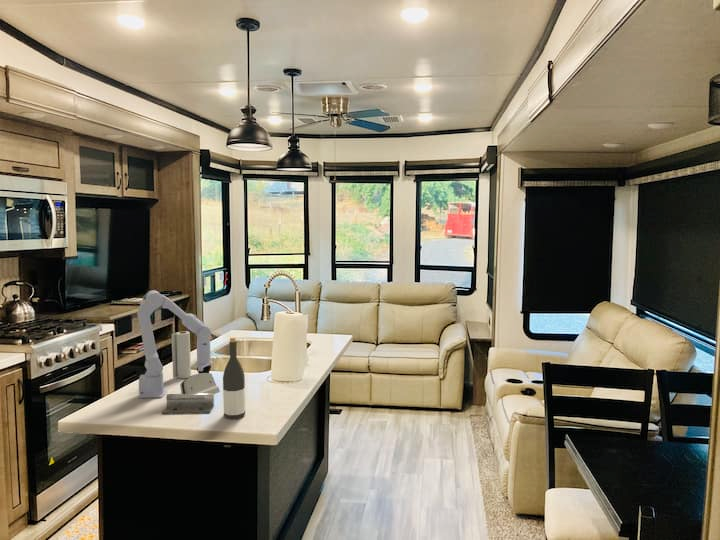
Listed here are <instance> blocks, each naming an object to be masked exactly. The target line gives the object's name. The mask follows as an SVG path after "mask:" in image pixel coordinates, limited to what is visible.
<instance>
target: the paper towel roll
mask: <svg viewBox="0 0 720 540" xmlns="http://www.w3.org/2000/svg"><path fill="white" fill-rule="evenodd" d="M190 333H191V332H190V331H187V330H186V331H178V332H174V333H171V353H172V355H171V357H172V358H171V359H172V379H175V378H178V379H187V378H188V377H190V376H192V367H191V366H192V364H191V363H192V362H191V359H192V358H191V334H190Z"/></svg>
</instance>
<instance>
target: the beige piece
mask: <svg viewBox="0 0 720 540" xmlns="http://www.w3.org/2000/svg"><path fill="white" fill-rule="evenodd" d="M179 386H180V392H181V393H180V394H212V393H214V394H216V393H219V392H221V391H220V387H219V386H218V385H217V384H216V381H215V379H214V376H213V374H212V373H210V372H209V373H196V374H191V376H190V377H188V378H184V380H182V381H181V383H180V385H179Z"/></svg>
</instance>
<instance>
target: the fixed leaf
mask: <svg viewBox="0 0 720 540" xmlns="http://www.w3.org/2000/svg"><path fill="white" fill-rule="evenodd" d="M165 401H166V407H165V408H164V409H163V410H162V412H161V413H162V415H170V414H169V413H173V414H172V415H181V414H180V413H192V414H211V412H212V411H213V408H214V407H215V393H212V394H182V393H172V394H171V393H167V394H166V400H165Z"/></svg>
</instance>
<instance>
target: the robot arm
mask: <svg viewBox="0 0 720 540" xmlns="http://www.w3.org/2000/svg"><path fill="white" fill-rule="evenodd" d="M159 308H162V309H167V310H169V311H170V312H171V313H173V314H174V315H175V316H177V317H178V318H179V319H181V324H182V325H183V326H184V327H185V328H187V330H189V332H190V331H191V332H192V333H194V334H195V336H196V366H197V367H196V370H197V374H199V373H210V371H211V368H212V365H214V361H211V355H212V354H211V336H212V331H211V329H210V328H209V327H208V326H207V325H206V324H205V321H201V320H200V319H199V318H197V314H195V313H194V314H193V313H186V312H185V311H184V310H183V309H181V307H180V306H179V305H177V304H176V303H175V302H173V301H172V300H171V298H169V297H167V296H165V295H164V294H161V293H160V292H159V291H157V290H155V289H153V290H149V291H147V293H146V294H144V295H143V297H142V300H141V303H140V304H139V307H138V310H137V312H136V314H137V319H138V324H139V329H140V334H141V340H142V344H143V349H144V354H145V355H144V356H145V361H144V368H145V369H146V371H145V372H144V374H140V375H139V378H138V398H139V399H140V398H141V399H143V398H144V399H145V398H146V399H147V398H148V399H150V398H162V397H164V395H166V393H167V390H164V372H163V370H164V366H163V364H162V362H161V360H160V358H159V354H158V352H157V351H158V350H157V345H156V340H155V336H154V332H153V325H152V321H151V315H152V314H153V313H154V312H155V310H158V309H159Z"/></svg>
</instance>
